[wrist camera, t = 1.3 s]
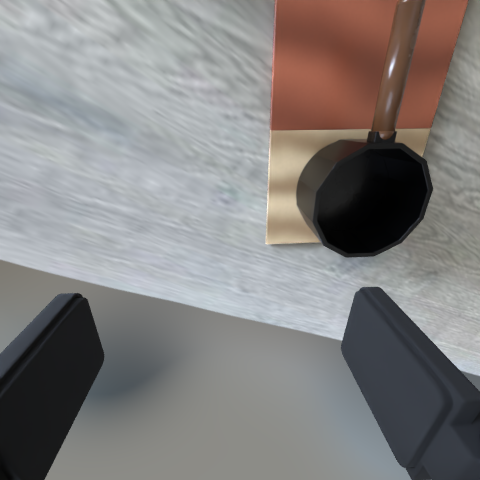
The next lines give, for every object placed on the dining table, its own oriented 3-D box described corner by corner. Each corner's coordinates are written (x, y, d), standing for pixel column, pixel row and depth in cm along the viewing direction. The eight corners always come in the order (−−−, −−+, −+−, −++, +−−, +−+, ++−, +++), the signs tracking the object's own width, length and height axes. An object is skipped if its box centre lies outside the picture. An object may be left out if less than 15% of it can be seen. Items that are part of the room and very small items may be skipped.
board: (276, -44, 22) (278, -49, 22) (474, -40, 23) (482, -45, 23) (265, 241, 35) (266, 244, 34) (394, 237, 36) (398, 239, 35)
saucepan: (311, 17, 24) (342, -21, 18) (430, 18, 24) (501, -19, 18) (292, 233, 34) (307, 259, 27) (377, 230, 34) (411, 255, 28)
